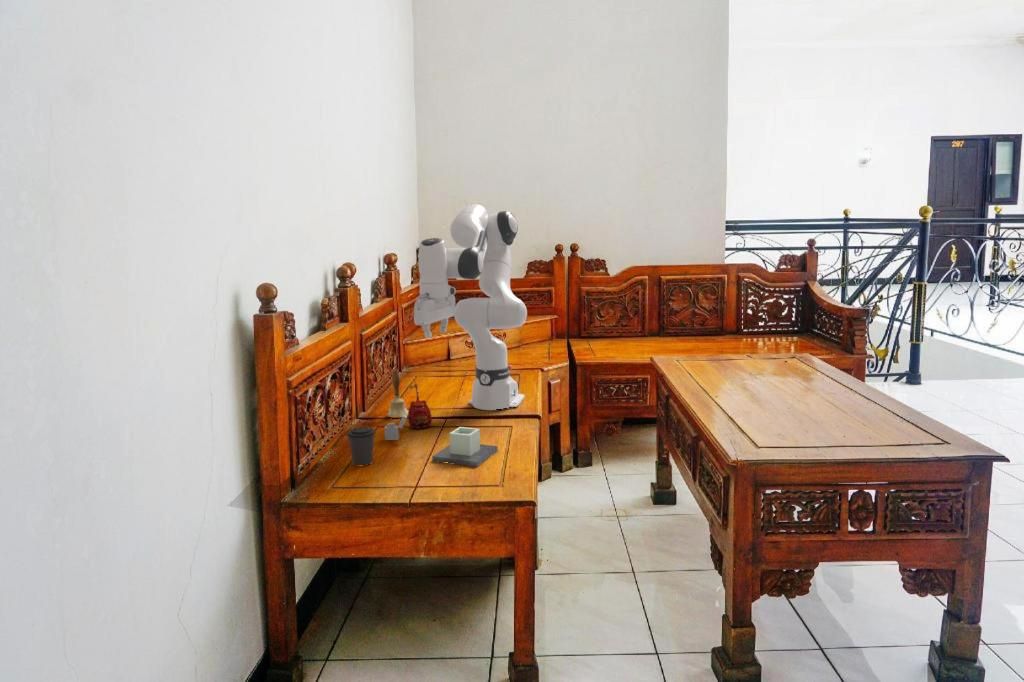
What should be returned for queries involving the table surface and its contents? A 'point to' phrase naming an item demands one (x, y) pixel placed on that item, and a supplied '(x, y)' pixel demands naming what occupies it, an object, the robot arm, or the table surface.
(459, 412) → the table surface
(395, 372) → the hand bell
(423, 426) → the red clay folk toy
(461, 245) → the robot arm
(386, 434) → the lighter
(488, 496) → the table surface
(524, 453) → the table surface
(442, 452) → the plate
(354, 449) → the coffee cup
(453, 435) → the sleeve
